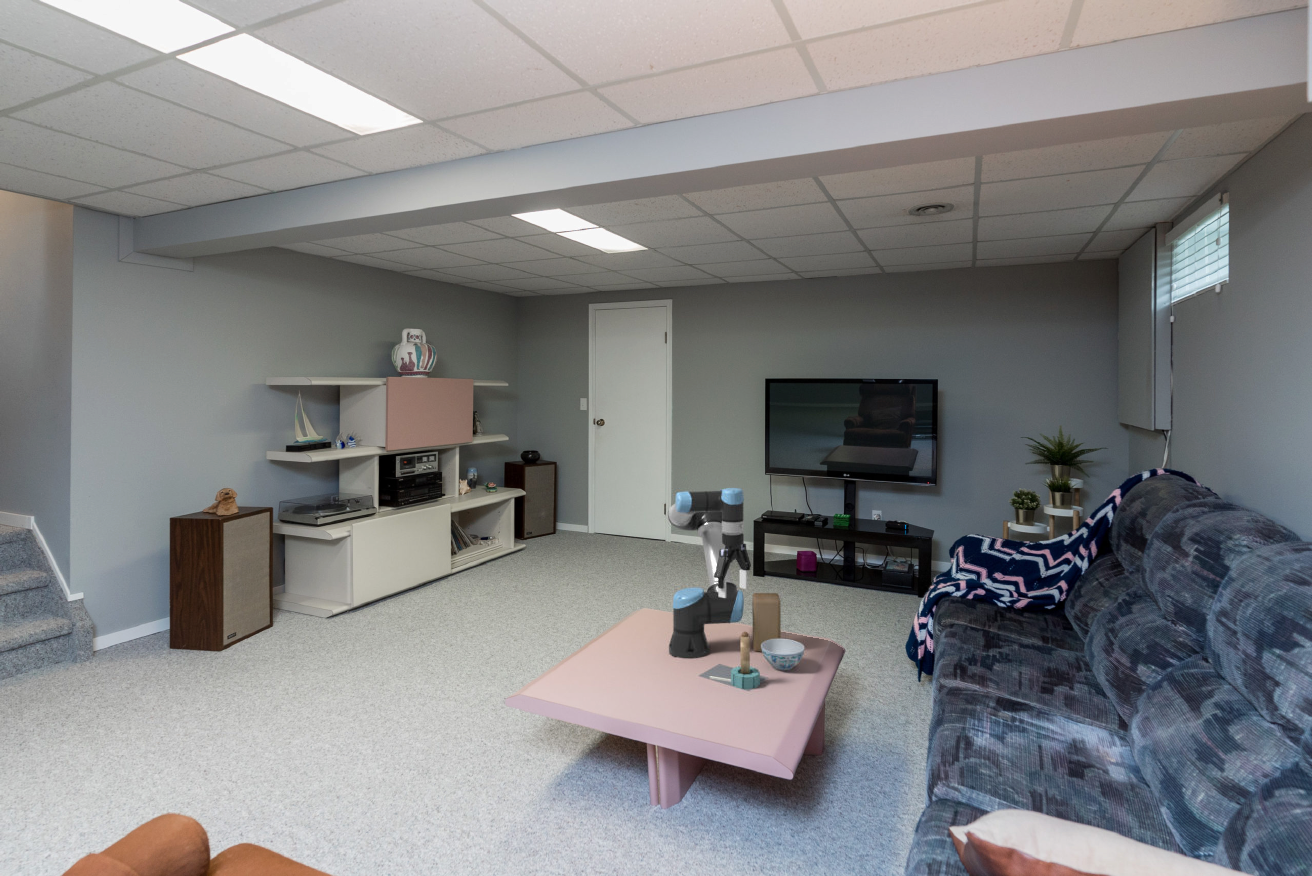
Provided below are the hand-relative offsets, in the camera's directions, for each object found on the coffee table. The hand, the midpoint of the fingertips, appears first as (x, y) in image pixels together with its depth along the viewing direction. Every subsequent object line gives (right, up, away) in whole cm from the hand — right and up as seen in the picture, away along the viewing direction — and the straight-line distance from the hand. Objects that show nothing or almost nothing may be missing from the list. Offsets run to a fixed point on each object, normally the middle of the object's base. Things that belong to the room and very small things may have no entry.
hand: (733, 592), depth 240 cm
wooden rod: (+3, -27, -13) cm, 30 cm away
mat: (-1, -27, -8) cm, 28 cm away
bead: (+3, -27, -13) cm, 30 cm away
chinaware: (+18, -27, +1) cm, 32 cm away
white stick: (-5, -27, -10) cm, 29 cm away
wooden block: (+15, -26, +19) cm, 35 cm away
